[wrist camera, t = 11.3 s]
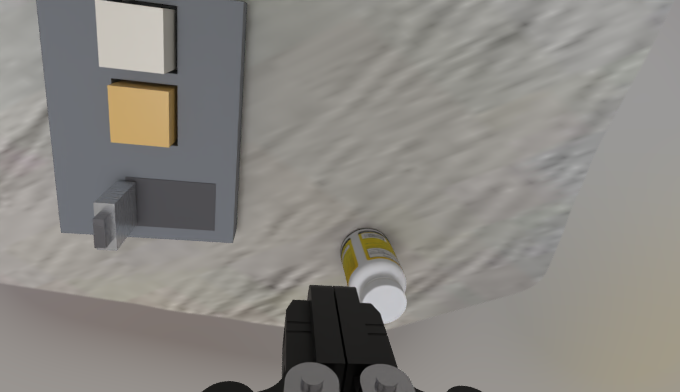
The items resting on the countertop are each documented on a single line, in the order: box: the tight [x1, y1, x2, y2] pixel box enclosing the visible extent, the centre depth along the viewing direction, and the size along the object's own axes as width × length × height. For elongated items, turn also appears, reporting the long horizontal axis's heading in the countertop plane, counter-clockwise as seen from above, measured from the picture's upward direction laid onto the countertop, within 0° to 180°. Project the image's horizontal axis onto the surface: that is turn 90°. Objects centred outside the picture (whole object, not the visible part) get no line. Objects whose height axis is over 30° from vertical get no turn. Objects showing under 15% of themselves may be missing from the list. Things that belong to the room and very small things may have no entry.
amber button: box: [107, 80, 178, 148], centre depth 37 cm, size 4×4×4 cm
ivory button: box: [95, 0, 177, 74], centre depth 33 cm, size 4×4×4 cm
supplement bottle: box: [341, 229, 407, 324], centre depth 42 cm, size 5×5×10 cm
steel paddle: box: [93, 181, 137, 251], centre depth 36 cm, size 4×2×6 cm, turn 173°
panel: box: [36, 0, 247, 243], centre depth 38 cm, size 21×15×3 cm
